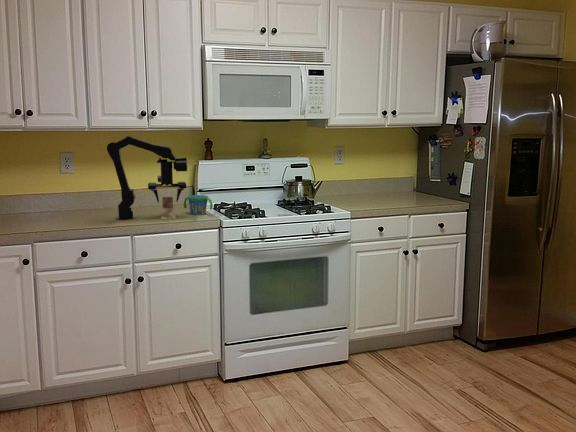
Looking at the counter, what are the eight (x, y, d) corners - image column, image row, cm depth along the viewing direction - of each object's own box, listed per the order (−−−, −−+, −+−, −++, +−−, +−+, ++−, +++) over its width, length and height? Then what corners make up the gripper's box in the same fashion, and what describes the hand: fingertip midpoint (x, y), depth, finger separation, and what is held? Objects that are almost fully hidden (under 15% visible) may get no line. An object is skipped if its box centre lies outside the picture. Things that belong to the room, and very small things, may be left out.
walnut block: (163, 208, 305) (162, 198, 304) (162, 206, 310) (162, 197, 309) (173, 208, 306) (172, 198, 305) (172, 206, 311) (172, 196, 310)
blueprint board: (150, 221, 302) (150, 219, 302) (149, 215, 321) (149, 213, 321) (183, 220, 306) (183, 218, 306) (179, 213, 325) (179, 211, 325)
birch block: (163, 218, 306) (163, 208, 305) (162, 216, 310) (162, 206, 309) (173, 217, 307) (173, 208, 306) (172, 216, 312) (172, 206, 311)
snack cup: (216, 214, 322) (215, 195, 320) (206, 218, 313) (205, 198, 311) (190, 212, 328) (190, 194, 326) (180, 216, 319) (179, 196, 317)
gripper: (184, 169, 315) (184, 199, 317) (146, 170, 310) (148, 201, 313) (186, 171, 304) (187, 202, 307) (147, 172, 299) (148, 204, 302)
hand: (167, 202), depth 307 cm, fingers open, 9 cm apart
